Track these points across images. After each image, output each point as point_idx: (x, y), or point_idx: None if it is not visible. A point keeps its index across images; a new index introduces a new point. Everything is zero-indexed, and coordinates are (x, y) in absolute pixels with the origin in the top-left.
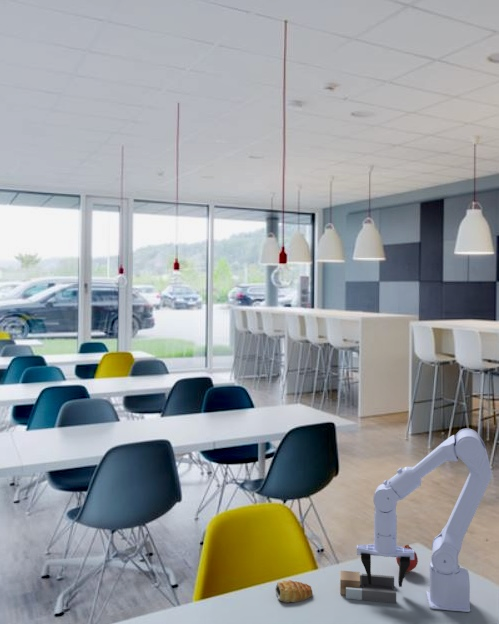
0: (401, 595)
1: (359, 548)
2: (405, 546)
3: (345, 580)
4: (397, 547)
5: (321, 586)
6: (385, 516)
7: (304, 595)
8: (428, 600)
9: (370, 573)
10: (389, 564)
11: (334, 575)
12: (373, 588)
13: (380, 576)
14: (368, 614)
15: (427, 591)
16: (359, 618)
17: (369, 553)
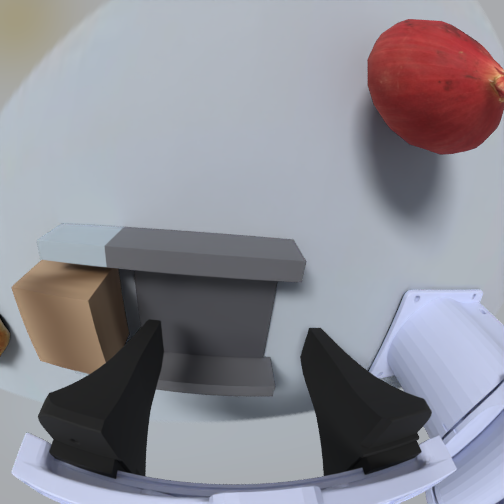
0: (304, 318)
1: (54, 499)
2: (495, 87)
3: (57, 364)
4: (378, 499)
5: (5, 273)
6: None
7: (1, 353)
8: (382, 350)
9: (150, 405)
10: (311, 5)
11: (18, 174)
12: (181, 285)
13: (218, 272)
14: (171, 411)
15: (410, 296)
16: (150, 420)
17: (119, 487)
